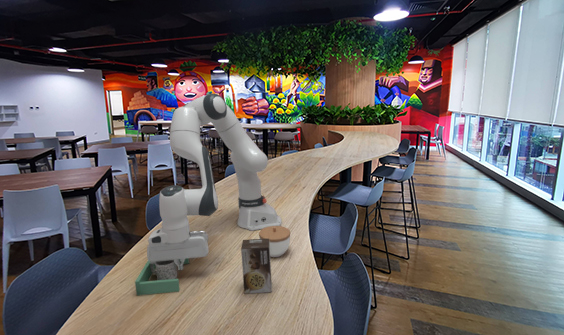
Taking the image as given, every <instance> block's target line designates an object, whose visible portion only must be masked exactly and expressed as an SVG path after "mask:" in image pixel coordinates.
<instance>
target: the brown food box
mask: <svg viewBox="0 0 564 335" xmlns="http://www.w3.org/2000/svg"><path fill="white" fill-rule="evenodd" d="M240 247H241V248H240V252H241V255H240V256H241V267H242V277H243V278H242V280H243V293H244V294H256V293H257V294H259V293H260V294H261V293H262V294H263V293H272V290H273V287H272V286H273V285H272V266H271V265H272V264H271V262H272V261H271V257H270V242H269V238H268V239H260V238H251V239H250V238H249V239H242V243H241V246H240Z"/></svg>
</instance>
